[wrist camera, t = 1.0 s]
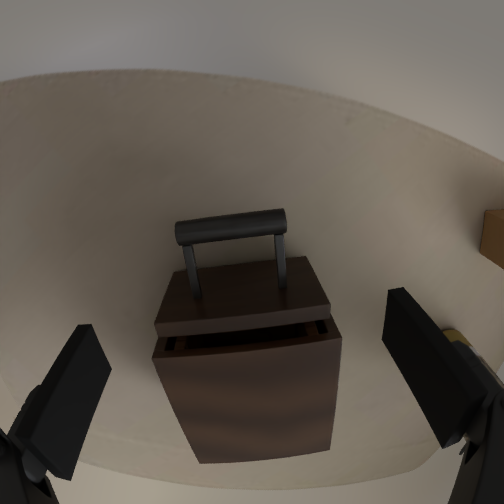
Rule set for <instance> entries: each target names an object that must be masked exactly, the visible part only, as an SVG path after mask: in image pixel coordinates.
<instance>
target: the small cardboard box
mask: <svg viewBox="0 0 504 504" xmlns="http://www.w3.org/2000/svg"><path fill="white" fill-rule="evenodd" d="M480 253H481V254H482V255H483V256H485V257H486V258H488V259H489V260H491V261H492V262H494V263H495V264H497V265H498V266H499V267H501V268H502V269H504V209H501V210H489V211H485V218H484V227H483V234H482V241H481V248H480Z"/></svg>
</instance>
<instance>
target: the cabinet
mask: <svg viewBox="0 0 504 504" xmlns="http://www.w3.org/2000/svg"><path fill="white" fill-rule="evenodd" d="M314 322H315V325H316V327H317V330H318V333H319V334H317V335H311V336H304V337H297V338H290V339H283V340H275V341H268V342H259V343H251V344H242V345H232V346H222V347H211V348H198V349H185V350H174V348H175V343H176V339H177V336H175V337H160V338H159V337H158V340H157V343H156V346H155V349H154V352H153V356H152V361H153V363H154V366H155V368H156V371H157V373H158V376H159V378H160V381H161V383H162V385H163V388H164V390H165V392H166V395H167V397H168V399H169V402H170V404H171V406H172V408H173V411H174V413H175V415H176V417H177V419H178V421H179V423H180V426H181V428H182V430H183V432H184V434H185V436H186V438H187V440H188V442H189V444H190V446H191V448H192V450H193V452H194V454H195V456H196V458H197V460H198V461H199V463H200V464H207V463H233V462H247V461H259V460H268V459H277V458H285V457H292V456H299V455H305V454H311V453H316V452H322V451H327V450H330V445H331V439H332V432H333V424H334V417H335V409H336V400H337V391H338V382H339V372H340V360H341V348H342V336H341V334H340V332H339V330H338V328H337V326H336V324H335V322H334V319H333V317H332V315H331V313H330V318H329V319H323V320H317V321H314Z"/></svg>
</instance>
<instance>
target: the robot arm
mask: <svg viewBox="0 0 504 504" xmlns="http://www.w3.org/2000/svg"><path fill="white" fill-rule="evenodd" d="M382 341H383V343H384V344H385V346H386V348H387V349H388V351H389V353H390V354H391V356H392V358H393V360H394V361H395V363H396V365H397V366H398V368H399V370H400V372H401V373H402V375H403V377H404V379H405V380H406V382H407V384H408V386H409V387H410V389H411V391H412V393H413V395H414V396H415V398H416V400H417V402H418V404H419V406H420V407H421V409H422V411H423V413H424V415H425V417H426V418H427V420H428V422H429V424H430V426H431V428H432V430H433V432H434V434H435V436H436V438H437V440H438V442H439V443H440V445H441V447H442V449H444V448H446V447H449V446H451V445H453V444H455V443H457V442H459V441H460V440H461V438H462V437H463V435H464V434H465V432H466V434H467V435H468V437H469V439H468V441H467V442H466V444H465V445H464V447H463V448H462V449H461V451H460V453H459V455H461V454H462V453H463V452H464V455H463V459H462V462H461V466H460V469H459V472H458V475H457V479H456V482H455V485H454V488H453V490H452V494H451V496H450V499H449V502H448V504H504V389H503V388H502V387H501V385H500V384H499V383H498V382H497V380H496V379H495V378H494V376H493V375H492V374H491V373H490V371H489V370H488V369H487V368H486V366H485V365H484V364H482V361H481V360H480V359H479V358H478V357H476V354H475V353H474V352H473V351H472V349H471V348H470V347H469V346H468V345H466V344H464V343H463V342H461V341H460V340H456V341H453V342H450V341H449V339H448V338H447V337H446V336H445V335H444V333H443V332H442V331H441V330H440V329H439V327H438V326H437V325H436V324H435V323H434V321H433V320H432V319H431V318H430V317H429V316H428V314H427V313H426V312H425V311H424V310H423V309H422V308H421V306H420V305H419V304H418V303H417V302H416V301H415V300H414V298H413V297H412V296H411V295H410V294H409V293H408V292H407V291H406V290H405V288H404V287H401V288H396V289H390V290H388V296H387V305H386V313H385V320H384V327H383V334H382ZM111 370H112V368H111V366H110V364H109V362H108V360H107V358H106V356H105V354H104V351H103V349H102V347H101V345H100V343H99V341H98V338H97V336H96V334H95V331H94V329H93V327H92V324H82V325H78V326H77V327H76V329H75V330H74V332H73V333H72V335H71V336H70V338H69V339H68V341H67V343H66V344H65V346H64V347H63V349H62V350H61V352H60V354H59V355H58V357H57V359H56V360H55V362H54V364H53V365H52V367H51V368H50V370H49V372H48V374H47V375H46V377H45V379H44V380H43V382H42V384H41V385H37V386H36V387H35V388H34V389H33V390H32V391H31V392H30V393H29V395H28V397H27V399H26V400H25V404H23V406H22V408H21V411H19V413H18V415H17V417H16V419H15V421H14V422H13V424H12V426H11V428H10V430H9V432H8V434H7V435H6V434H5V433H4V432H3V431H2V429H1V428H0V504H59V502H58V500H57V497H56V495H55V492H54V490H53V488H52V485H51V483H50V480H49V479H48V477H47V476H46V475H45V474H46V471H47V469H48V470H49V471H50V472H51V473H52V474H53V475H54V476H55V477H58V478H61V479H65V480H69V481H71V479H72V476H73V473H74V469H75V466H76V463H77V460H78V457H79V454H80V451H81V449H82V446H83V443H84V440H85V437H86V434H87V432H88V429H89V426H90V423H91V421H92V418H93V415H94V413H95V410H96V407H97V405H98V402H99V400H100V397H101V395H102V392H103V390H104V387H105V385H106V382H107V380H108V377H109V375H110V372H111Z"/></svg>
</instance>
